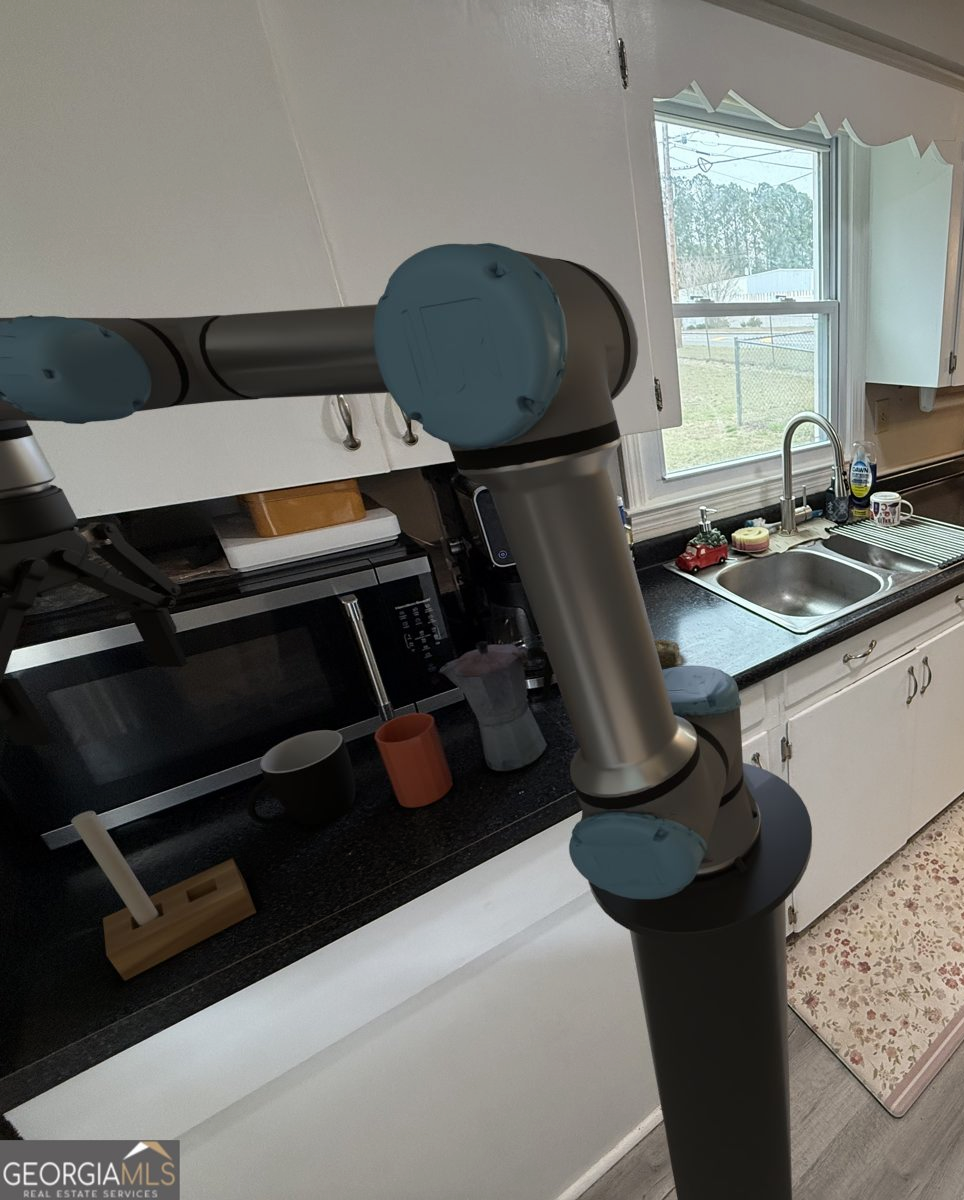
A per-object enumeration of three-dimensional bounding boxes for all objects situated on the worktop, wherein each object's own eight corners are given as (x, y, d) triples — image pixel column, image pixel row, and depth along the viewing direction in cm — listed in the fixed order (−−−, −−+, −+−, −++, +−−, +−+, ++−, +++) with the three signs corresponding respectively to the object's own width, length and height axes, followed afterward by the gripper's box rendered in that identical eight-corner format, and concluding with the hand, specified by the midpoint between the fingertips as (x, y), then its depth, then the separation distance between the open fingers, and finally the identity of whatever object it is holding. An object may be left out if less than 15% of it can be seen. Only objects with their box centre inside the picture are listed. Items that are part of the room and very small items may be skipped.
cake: (624, 664, 123) (620, 639, 121) (670, 649, 128) (667, 626, 126) (644, 681, 115) (640, 655, 113) (692, 665, 120) (689, 640, 119)
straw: (174, 940, 68) (94, 816, 60) (154, 950, 67) (71, 825, 59) (172, 931, 69) (94, 808, 61) (152, 941, 68) (70, 817, 60)
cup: (460, 788, 90) (441, 726, 85) (407, 815, 85) (384, 750, 80) (441, 767, 94) (422, 707, 89) (390, 791, 89) (367, 729, 84)
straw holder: (256, 912, 71) (243, 887, 69) (124, 981, 64) (106, 955, 62) (245, 882, 75) (232, 857, 73) (119, 943, 68) (102, 918, 66)
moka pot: (468, 745, 99) (437, 635, 90) (570, 725, 103) (549, 618, 95) (461, 784, 90) (425, 666, 82) (571, 760, 95) (548, 646, 87)
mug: (342, 779, 91) (319, 722, 87) (378, 798, 88) (356, 740, 83) (247, 834, 82) (216, 773, 78) (283, 858, 78) (253, 796, 74)
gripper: (97, 460, 64) (183, 641, 73) (-281, 539, 41) (-89, 787, 50) (170, 460, 64) (248, 640, 73) (-166, 538, 41) (6, 785, 50)
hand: (111, 700), depth 61 cm, fingers open, 13 cm apart
